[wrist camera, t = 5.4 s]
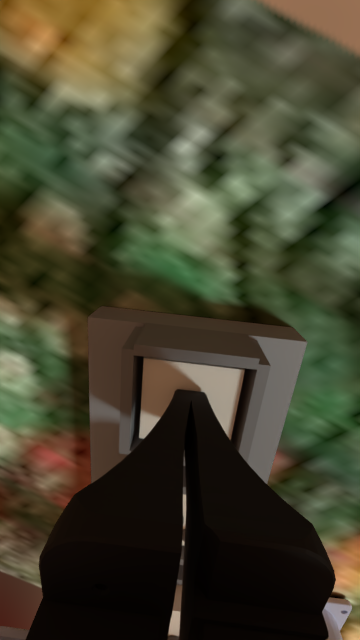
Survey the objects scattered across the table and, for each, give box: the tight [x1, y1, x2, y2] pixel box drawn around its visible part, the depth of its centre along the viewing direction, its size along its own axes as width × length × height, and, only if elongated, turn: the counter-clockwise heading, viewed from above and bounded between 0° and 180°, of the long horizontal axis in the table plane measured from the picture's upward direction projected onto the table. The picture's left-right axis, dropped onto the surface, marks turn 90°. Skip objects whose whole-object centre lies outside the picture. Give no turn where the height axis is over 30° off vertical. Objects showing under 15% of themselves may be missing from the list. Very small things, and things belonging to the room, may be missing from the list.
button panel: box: [88, 306, 307, 585], centre depth 16 cm, size 21×11×5 cm, turn 174°
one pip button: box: [139, 357, 245, 440], centre depth 13 cm, size 4×4×2 cm
